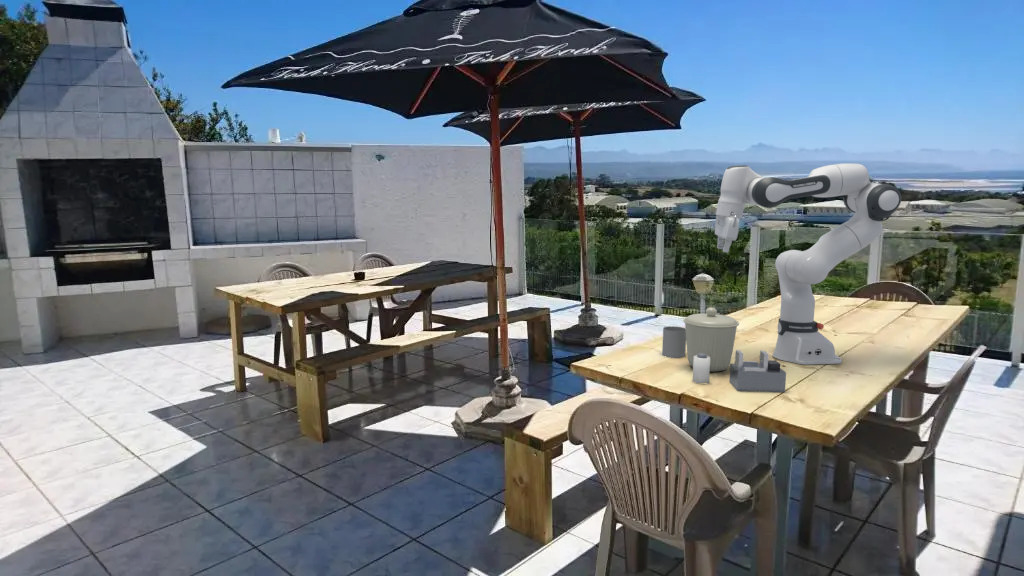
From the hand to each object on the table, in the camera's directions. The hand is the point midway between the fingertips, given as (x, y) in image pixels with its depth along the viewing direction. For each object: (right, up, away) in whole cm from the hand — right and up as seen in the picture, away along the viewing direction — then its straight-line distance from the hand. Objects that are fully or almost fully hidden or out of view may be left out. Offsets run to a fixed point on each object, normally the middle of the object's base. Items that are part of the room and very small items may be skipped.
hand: (722, 250), depth 214 cm
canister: (-7, -41, -7) cm, 42 cm away
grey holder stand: (+1, -44, -27) cm, 52 cm away
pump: (-15, -43, -22) cm, 51 cm away
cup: (-15, -39, +10) cm, 42 cm away
